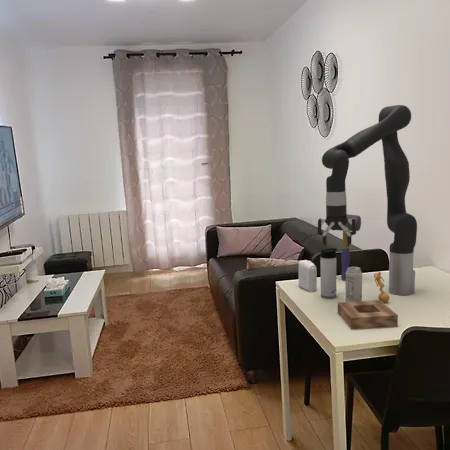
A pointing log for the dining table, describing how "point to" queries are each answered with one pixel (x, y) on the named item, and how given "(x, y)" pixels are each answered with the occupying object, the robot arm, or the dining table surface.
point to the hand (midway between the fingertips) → (337, 245)
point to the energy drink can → (353, 284)
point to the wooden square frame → (367, 314)
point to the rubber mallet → (345, 250)
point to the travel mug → (328, 273)
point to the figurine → (382, 296)
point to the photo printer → (307, 275)
